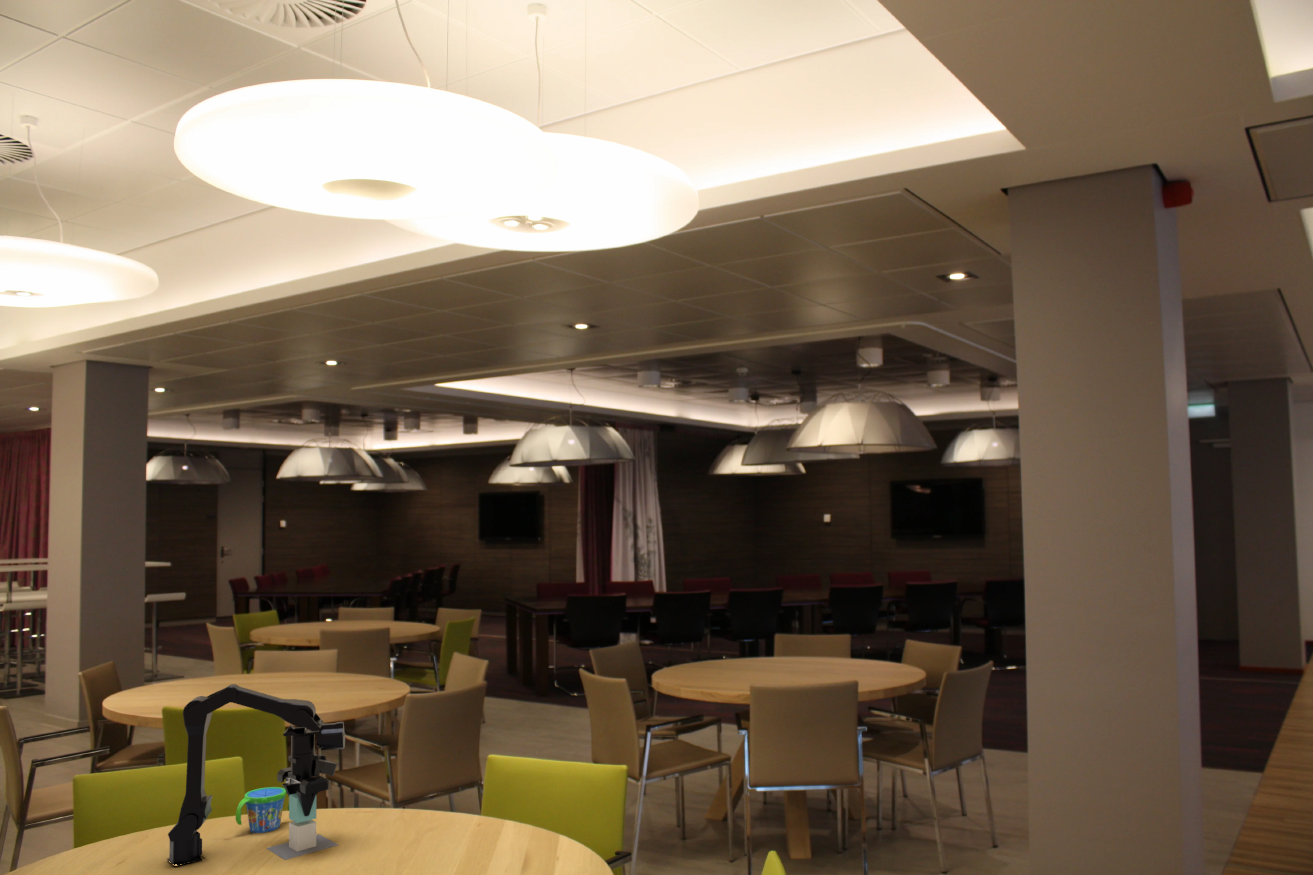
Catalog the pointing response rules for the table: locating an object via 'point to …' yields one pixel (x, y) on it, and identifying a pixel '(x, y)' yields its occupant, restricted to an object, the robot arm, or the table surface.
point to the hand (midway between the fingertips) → (302, 813)
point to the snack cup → (263, 808)
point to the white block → (302, 835)
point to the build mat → (289, 853)
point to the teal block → (299, 810)
